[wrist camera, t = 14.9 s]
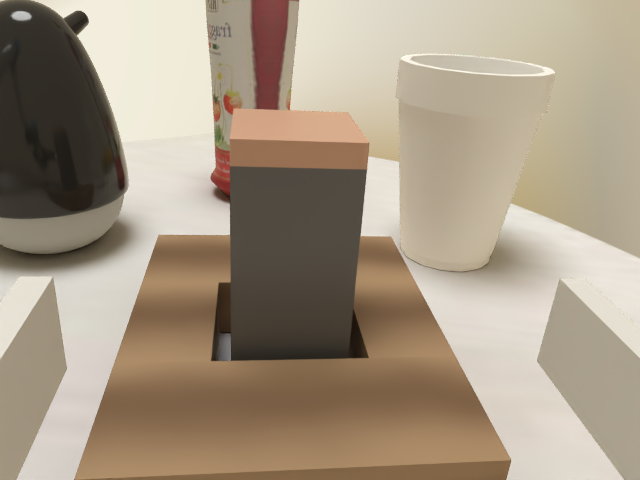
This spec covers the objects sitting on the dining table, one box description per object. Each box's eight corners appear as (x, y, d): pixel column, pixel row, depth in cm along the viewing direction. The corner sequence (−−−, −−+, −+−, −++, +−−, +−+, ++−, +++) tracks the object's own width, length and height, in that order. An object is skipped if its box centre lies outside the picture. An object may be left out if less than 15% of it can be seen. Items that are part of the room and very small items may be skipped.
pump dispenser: (162, 223, 42) (149, 3, 36) (64, 286, 33) (23, 7, 27) (50, 201, 45) (19, -8, 39) (-69, 253, 36) (-135, -8, 30)
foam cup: (352, 240, 42) (369, 55, 36) (438, 216, 47) (463, 52, 42) (452, 296, 35) (492, 80, 30) (539, 261, 40) (585, 72, 35)
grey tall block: (343, 403, 26) (369, 142, 21) (231, 406, 25) (229, 138, 20) (330, 339, 30) (348, 112, 25) (234, 340, 30) (233, 108, 24)
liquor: (307, 200, 48) (329, -205, 37) (226, 212, 45) (221, -231, 33) (271, 174, 54) (280, -184, 43) (196, 183, 51) (184, -204, 39)
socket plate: (494, 523, 20) (511, 460, 19) (85, 546, 19) (74, 479, 17) (385, 279, 37) (390, 236, 35) (161, 279, 35) (158, 234, 34)
